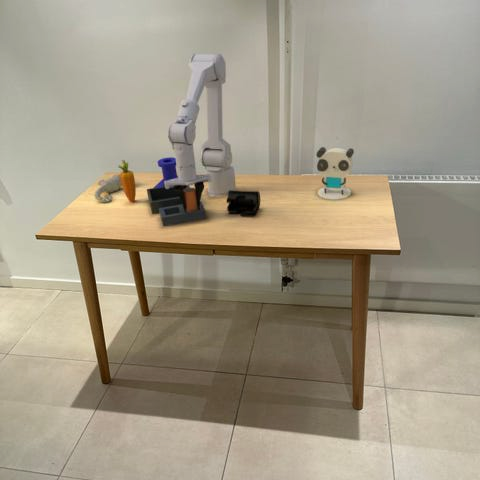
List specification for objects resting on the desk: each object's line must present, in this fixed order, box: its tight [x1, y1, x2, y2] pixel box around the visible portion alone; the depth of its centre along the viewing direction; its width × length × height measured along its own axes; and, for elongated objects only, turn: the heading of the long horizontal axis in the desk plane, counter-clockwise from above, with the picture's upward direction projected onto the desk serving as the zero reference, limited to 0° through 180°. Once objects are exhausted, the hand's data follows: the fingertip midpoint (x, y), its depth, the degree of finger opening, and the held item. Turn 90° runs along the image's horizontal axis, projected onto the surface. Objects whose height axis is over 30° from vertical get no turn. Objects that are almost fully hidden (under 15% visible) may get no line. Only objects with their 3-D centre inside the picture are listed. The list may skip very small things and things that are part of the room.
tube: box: [183, 187, 198, 212], centre depth 150 cm, size 4×4×8 cm
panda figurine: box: [315, 146, 355, 201], centre depth 158 cm, size 12×11×15 cm
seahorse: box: [94, 173, 136, 203], centre depth 174 cm, size 5×12×20 cm
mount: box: [153, 156, 178, 188], centre depth 176 cm, size 15×8×9 cm, turn 163°
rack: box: [158, 200, 207, 227], centre depth 152 cm, size 8×14×4 cm, turn 105°
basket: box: [146, 185, 191, 215], centre depth 162 cm, size 15×13×5 cm
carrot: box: [117, 159, 137, 203], centre depth 162 cm, size 5×5×15 cm
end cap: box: [226, 189, 261, 218], centre depth 153 cm, size 10×7×7 cm
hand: (191, 206), depth 151 cm, fingers closed on tube, 4 cm apart
